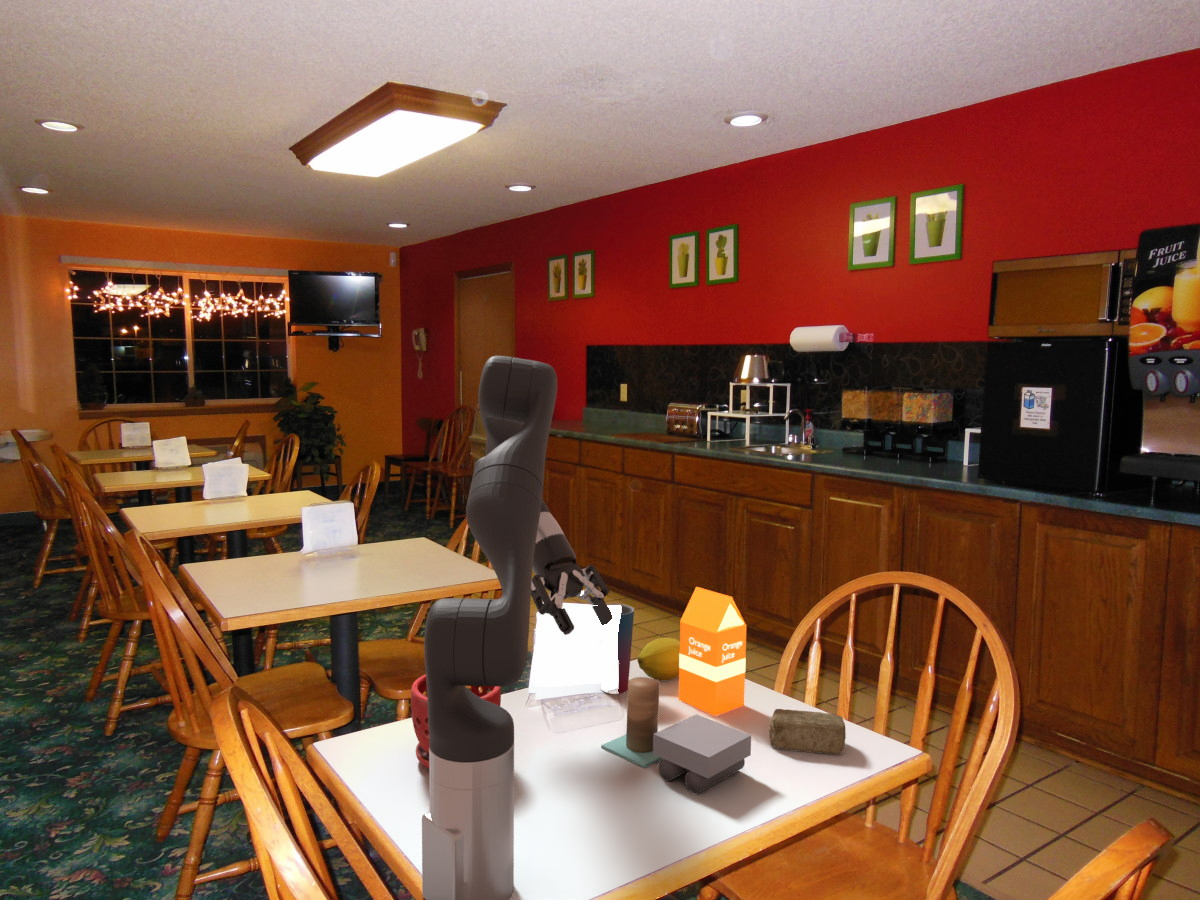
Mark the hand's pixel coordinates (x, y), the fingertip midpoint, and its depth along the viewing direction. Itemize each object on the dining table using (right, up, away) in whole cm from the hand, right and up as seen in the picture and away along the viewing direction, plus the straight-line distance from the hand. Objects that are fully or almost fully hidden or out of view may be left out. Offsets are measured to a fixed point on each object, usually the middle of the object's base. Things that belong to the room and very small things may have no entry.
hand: (589, 626), depth 134 cm
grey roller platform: (+16, -18, -14) cm, 28 cm away
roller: (+8, -17, -6) cm, 20 cm away
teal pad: (+8, -17, -6) cm, 20 cm away
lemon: (+13, -15, +22) cm, 30 cm away
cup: (+4, -15, +17) cm, 24 cm away
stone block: (+34, -18, -4) cm, 39 cm away
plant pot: (-20, -18, -11) cm, 29 cm away
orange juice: (+21, -16, +12) cm, 29 cm away
